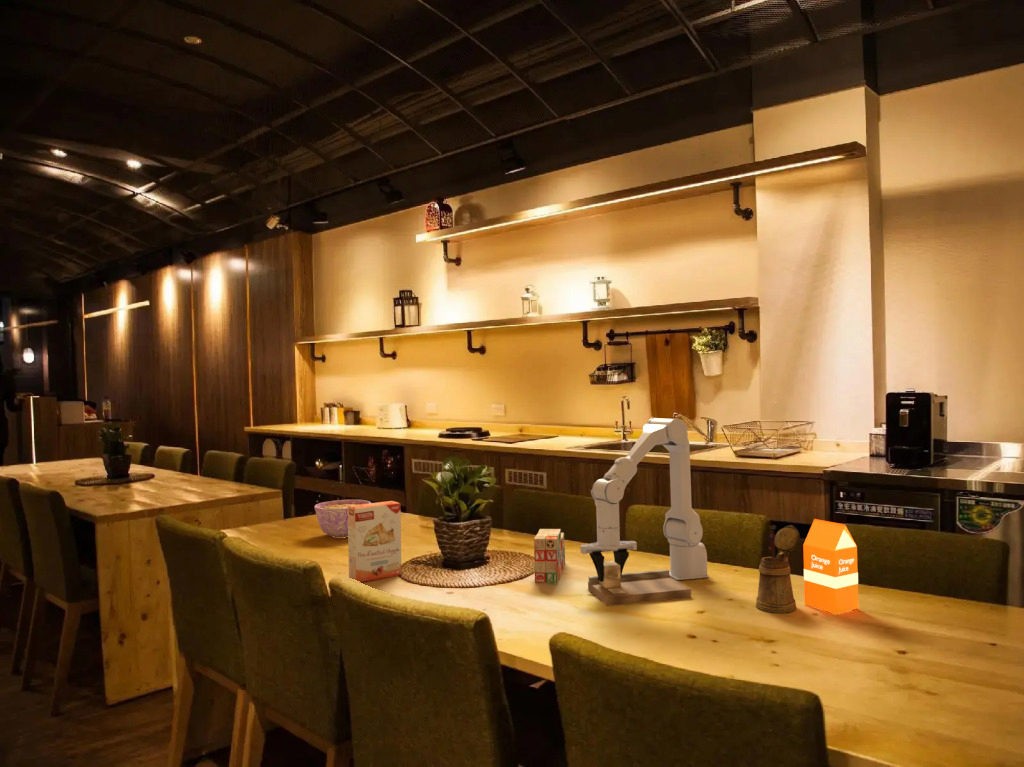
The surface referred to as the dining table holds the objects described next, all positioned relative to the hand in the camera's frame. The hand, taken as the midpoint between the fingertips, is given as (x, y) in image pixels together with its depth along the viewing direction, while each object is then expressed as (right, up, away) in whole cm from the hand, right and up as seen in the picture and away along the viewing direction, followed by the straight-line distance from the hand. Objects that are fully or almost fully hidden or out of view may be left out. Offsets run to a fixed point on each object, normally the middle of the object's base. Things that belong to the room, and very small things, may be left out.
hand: (609, 579), depth 184 cm
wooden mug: (+39, -3, -13) cm, 41 cm away
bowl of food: (-86, -6, +78) cm, 116 cm away
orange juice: (+50, -2, -16) cm, 52 cm away
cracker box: (-63, -5, +21) cm, 67 cm away
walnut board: (+7, -3, -1) cm, 8 cm away
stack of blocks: (-14, -4, +21) cm, 26 cm away
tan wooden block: (0, -1, 0) cm, 1 cm away
